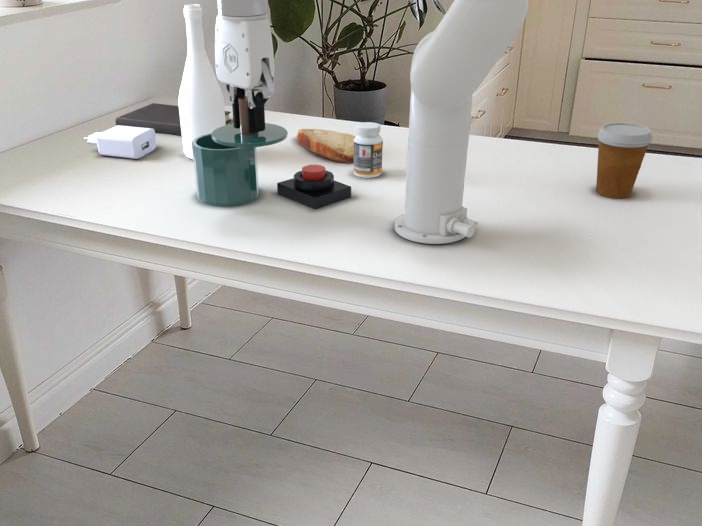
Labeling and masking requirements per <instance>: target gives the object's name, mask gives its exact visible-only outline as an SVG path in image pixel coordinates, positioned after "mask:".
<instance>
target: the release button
mask: <svg viewBox="0 0 702 526" xmlns="http://www.w3.org/2000/svg"><path fill="white" fill-rule="evenodd" d="M325 170H326V167H325V166H324V165H321V164H306V165H304V166H302V167H301V171H302V178H304V179H308V180H320V179H323V178H325V177H326V175H325Z"/></svg>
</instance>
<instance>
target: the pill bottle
mask: <svg viewBox="0 0 702 526" xmlns="http://www.w3.org/2000/svg"><path fill="white" fill-rule="evenodd" d="M356 133H357V135H355V136H356V137H355V138H354V162H353V174H354V176H356V177H358V178H363V179H374V178H377V177H380V176H381V175H382V173H383V146H384V145H383V144H384V140H383V137H382V136H381V135H380V133H381V124H380V123H377V122H372V121H365V122H359V123H357V124H356Z"/></svg>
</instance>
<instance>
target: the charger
mask: <svg viewBox="0 0 702 526" xmlns="http://www.w3.org/2000/svg"><path fill="white" fill-rule="evenodd" d="M83 140H86V142H87V144H88V145H90V146H97V150H98V153H99V154H100V156H108V157H117V158H125V159H126V158H127V159H136V160H139V159H140V158H142V157H144V156H146V155H148V154H149V153H151V152H153V151H154V150H156V148H157V137H156V132H155V130H154V129H152V128H141V127H131V126H120V125H117V126H116V125H114V126H112V127H111V128H108V129H106V130H103V131H101V132H100V131H99V132H98V131H96V132H94V133H91V134H88V135H87V136H86V137H85V136H84V137H83Z"/></svg>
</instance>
